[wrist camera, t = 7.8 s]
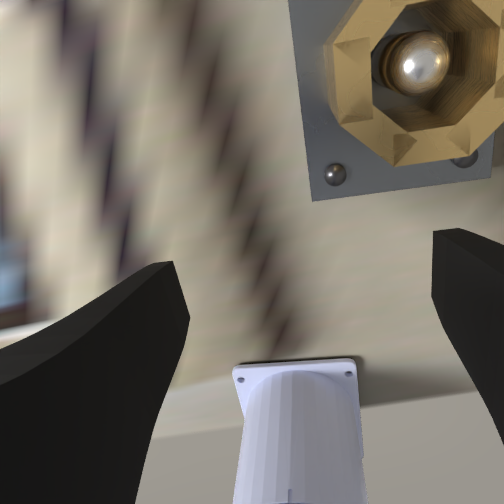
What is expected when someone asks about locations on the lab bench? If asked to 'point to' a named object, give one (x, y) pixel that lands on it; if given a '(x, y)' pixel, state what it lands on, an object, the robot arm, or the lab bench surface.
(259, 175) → the lab bench surface
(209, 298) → the lab bench surface
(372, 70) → the block
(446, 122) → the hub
